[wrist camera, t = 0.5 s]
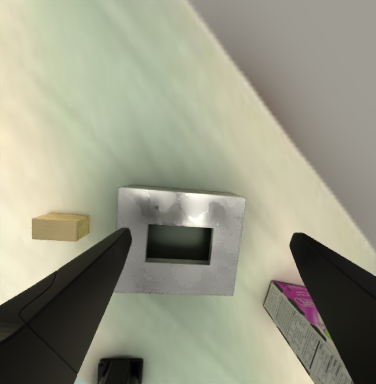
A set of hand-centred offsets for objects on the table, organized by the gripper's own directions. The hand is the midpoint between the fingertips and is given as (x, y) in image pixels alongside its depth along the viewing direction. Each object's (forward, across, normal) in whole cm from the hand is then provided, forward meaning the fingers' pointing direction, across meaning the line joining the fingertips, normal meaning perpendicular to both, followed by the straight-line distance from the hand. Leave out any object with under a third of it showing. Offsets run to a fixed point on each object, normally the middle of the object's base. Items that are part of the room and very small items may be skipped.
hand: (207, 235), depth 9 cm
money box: (+11, +4, +9) cm, 15 cm away
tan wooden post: (+9, +18, +7) cm, 22 cm away
